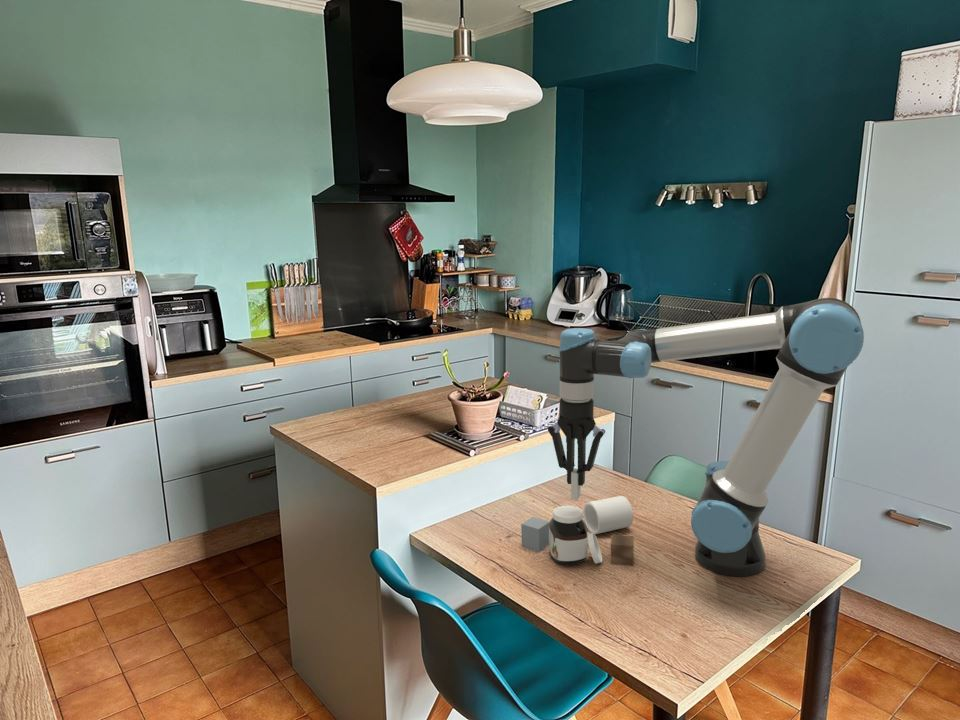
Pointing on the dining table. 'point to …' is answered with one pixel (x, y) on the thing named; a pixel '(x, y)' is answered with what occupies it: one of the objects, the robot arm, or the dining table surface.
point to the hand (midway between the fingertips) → (575, 497)
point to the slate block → (535, 534)
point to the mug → (608, 514)
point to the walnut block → (622, 550)
